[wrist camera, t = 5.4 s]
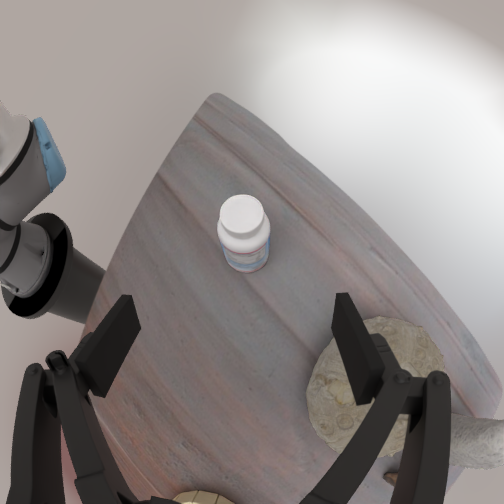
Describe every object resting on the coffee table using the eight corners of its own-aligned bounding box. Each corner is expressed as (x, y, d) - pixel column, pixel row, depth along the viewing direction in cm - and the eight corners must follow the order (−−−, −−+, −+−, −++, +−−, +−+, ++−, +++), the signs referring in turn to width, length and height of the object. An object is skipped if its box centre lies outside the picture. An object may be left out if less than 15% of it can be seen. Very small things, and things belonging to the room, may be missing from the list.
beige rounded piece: (310, 462, 27) (326, 492, 18) (291, 338, 34) (302, 329, 24) (426, 422, 27) (467, 431, 18) (409, 310, 34) (448, 291, 25)
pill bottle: (236, 228, 40) (228, 181, 30) (275, 243, 39) (280, 199, 28) (218, 264, 38) (201, 226, 28) (258, 281, 37) (257, 247, 26)
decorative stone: (467, 441, 24) (527, 452, 10) (444, 469, 23) (501, 490, 9) (443, 406, 28) (511, 411, 14) (417, 436, 27) (482, 456, 13)
